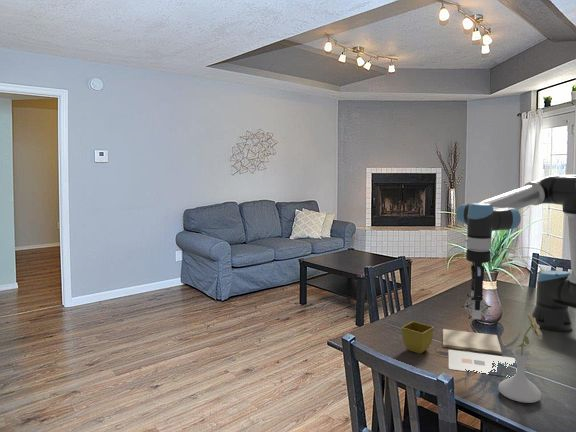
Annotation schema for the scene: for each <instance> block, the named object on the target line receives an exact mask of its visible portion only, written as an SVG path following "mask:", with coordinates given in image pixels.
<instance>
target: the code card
mask: <svg viewBox="0 0 576 432" xmlns="http://www.w3.org/2000/svg"><path fill="white" fill-rule="evenodd" d="M447 352H448V370H454V371H461V372H467V371H468V370H470V371H473V370H475V371H474V372H476V371H478V372H477V373H476V374H481V373H486V374H485V375H488V374H489V373H488V372H490V371H491V370H493V369H495V370H496V371H495V372H497V367H498V366H497V365H498V361H499V363H500V362H501V364H502V363H504V364H505V362H506V364H507V363H508V364H507V365H506V366H507V367H508V366H509V364H510V365H511V364H512V365H513V363H515V361H516V357H511V356H501V355H496V354H495V355H494V354H488V353H486V354H485V353H481V352H478V353H477V352H472V351H471V352H470V351H465V350H462V351H461V350H457V349H456V350H455V349H448V351H447ZM493 361H494V362H493ZM492 363H495V364H496V365H495V364H494V365H495V366H496V367H495V366H494V367H493V368H492V366H493V365H492ZM504 366H505V365H504ZM507 367H506V368H507ZM465 369H466V370H467V371H466V370H465ZM470 371H469V373H471V372H470ZM481 371H482V372H481ZM474 372H473V373H474ZM479 372H480V373H479ZM492 372H494V370H493V371H492ZM507 376H508V375H507ZM507 376H506V377H505V378H509V377H510V376H509V377H507Z"/></svg>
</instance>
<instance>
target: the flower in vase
mask: <svg viewBox="0 0 576 432" xmlns="http://www.w3.org/2000/svg"><path fill="white" fill-rule="evenodd" d="M527 318H528V322H529V327H528V328H527V330H526V331H525V333H524V335H523V338H522V343H520V345H519V344H518V347H521V348H514V349H512V353H513V354H514V356H515V357H514V358H515V360H516V363H517V369H516V374H515V375H514V376H512V377H510V378H509V377H506V378H505V379H503V380H502V381H500V382H499V384H498V386H497V387H498V391H499V392H500V393H501V395H503V396H504V397H505V398H508V399H510V400H512V401H516V402H519V403H526V404H527V403H528V404H530V403H531V404H532V403H536V402H539V401H540V400H541V399H542V393H541V391H540V389H539V388H538V387H537V385H535V384H534V383H533V382H532V381H530V380H529V379H528V378H527V375H526V367H527V362H528V359H529V358H530V357H531V356H532V352H531V351H529V350H527V349H523V348H524V347H527V346H528V345H529V344H530V339H529V337H528V336H527V334H528V332H530V330H531V329H532V331H533V333H534V335H535V336H536V338H537V339H539V340H542V339H543V333H542V331H541V330H540V329H541V328H540V326H539V325H538V324H537V322H536V319H535V317H534V318H533V317H532V313H531V312H530V313H529V312H528V313H527Z"/></svg>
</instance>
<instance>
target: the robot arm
mask: <svg viewBox="0 0 576 432" xmlns="http://www.w3.org/2000/svg"><path fill="white" fill-rule="evenodd" d="M541 204H551V205H561V206H562V213H563V214H565V215H566V216H567V223H568V237H569V239H568V240H569V255H570V268H571V269H570V271H571V272H569V271H564V270H543V271H540V272H539V273H538V276H537V280H536V282H537V283H536V298H535V299H536V301H535V306H534V308H533V311H532V313H531V314H532V317H533V318H534V317H535V319H536V322H537V324H538V325H539V326H540V328H539V329H542V330H543V329H544V330H547V331H551V332H552V331H553V332H568V331H570V330H571V329H572V327H573V321H572V319H571V315H570V312H569V308H573V309H576V174H562V173H561V174H560V173H559V174H552V175H550V174H549V175H547V176H544V177H543V176H542V177H540V178H538V179H533V180H531V181H528V182H526V183H525V184H524V185H523V186H522V187H519V188H516V189H513V190H510V191H508V192H504V193H501V194H499V195H495V196H494V197H491V198H487V199H485V200H482V201H479V202H478V201H477V202H473V203H463V204H460V205H459V206H458V207H457V209H456V212H455V214H456V215H455V216H456V219H457V221H458V222H459V223H461V224H465V225H467V231H466V233H467V235H466V236H467V237H466V238H465V239H464V241H465V242H466V248H467V249H466V251H465V252H466V253H465V254H466V255H465V260H466V261H468V262H469V263H470V262H471V263H472V264H471V266H470V269H471V271H470V273H471V275H470V276H471V284H470V289H471V291H470V292H471V293H470V296H474V298H471V300H473V309H472V317H471V319H473V320H479V321H480V320H482V317H481V310H482V300H483V299H484V297H483V296H484V294H483V293H484V292H483V289H484V287H483V286H484V276H485V275H484V274H485V266H484V265H483V263H485V264H486V263H490V262H491V253H492V252H491V249H492V233H493V232H494V231H496V232H497V231H509V230H514V229H517V227H519V226H520V223H521V220H522V219H521V218H522V216H521V213H520V211H518V210H521V209H524V208H526V207H528V206H531V205H532V206H539V205H541ZM478 296H480V297H478ZM482 297H483V298H482Z"/></svg>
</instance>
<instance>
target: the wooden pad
mask: <svg viewBox="0 0 576 432" xmlns="http://www.w3.org/2000/svg"><path fill="white" fill-rule="evenodd" d="M442 347H443V348H449V349H454V350H455V349H456V350H457V349H458V350H462V351H471V352H472V351H473V352H478V353H486V354H488V353H489V354H495V355H496V354H497V355H502V349H501V345H500V342H499V339H498V335H497V334H490V333H481V332H473V331H472V332H471V331H464V330H455V329H446V328H443V329H442Z"/></svg>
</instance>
